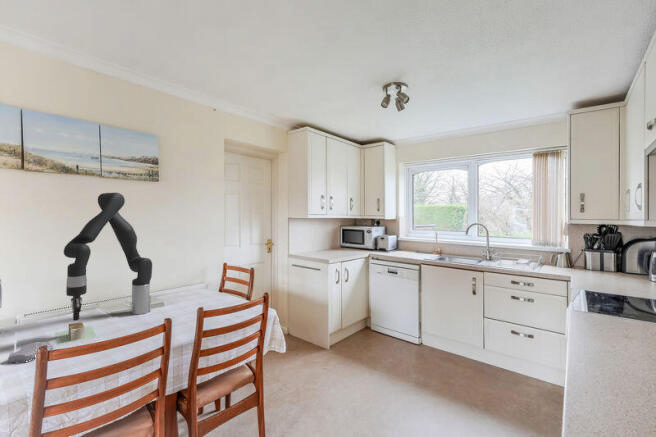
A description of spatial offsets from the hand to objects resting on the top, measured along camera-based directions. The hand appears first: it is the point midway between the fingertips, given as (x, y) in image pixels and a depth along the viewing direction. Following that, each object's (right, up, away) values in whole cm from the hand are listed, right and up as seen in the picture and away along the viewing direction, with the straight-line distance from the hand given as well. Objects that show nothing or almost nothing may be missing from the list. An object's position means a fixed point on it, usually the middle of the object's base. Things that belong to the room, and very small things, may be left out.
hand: (76, 320), depth 146 cm
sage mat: (0, -8, 0) cm, 8 cm away
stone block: (-1, -9, -20) cm, 22 cm away
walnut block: (-2, -5, +2) cm, 5 cm away
